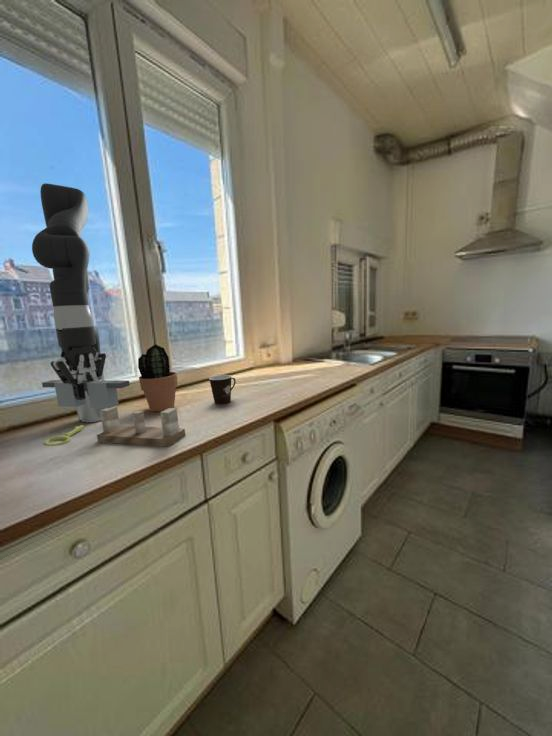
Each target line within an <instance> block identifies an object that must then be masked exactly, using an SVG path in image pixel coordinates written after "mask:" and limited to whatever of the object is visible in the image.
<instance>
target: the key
mask: <svg viewBox="0 0 552 736" xmlns="http://www.w3.org/2000/svg"><path fill="white" fill-rule="evenodd" d="M84 428H85V425H83V424H81V425H79V426H78V425H76V426H75V427H74V429H73V430H71V431H69V432H64V434H63V435H59V436H58V435H56V436H53V437H50V438H48V439H46V440H45V442H44V445H46V446H60V445H64V444H68V443H70V442H71V440H72V439H71V437H72V436H73V435H75V434H77V433H78V432H80V431H81V430H83V429H84ZM53 440H54V441H59V442H55V443H54V442H53ZM62 440H63V441H62Z"/></svg>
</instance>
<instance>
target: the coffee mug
mask: <svg viewBox="0 0 552 736" xmlns="http://www.w3.org/2000/svg"><path fill="white" fill-rule="evenodd" d="M232 380H233V385H232ZM236 382H237V381H236V378H234V377H232V375H227V374H226V375H225V374H223V375H222V374H221V375H215V376H212V377H209V384H210V389H211V393H212V398H213V403H214V404H216V405H226V404H229V403H231V402H232V401H231V400H232V391H233V389H234V388H235V386H236Z"/></svg>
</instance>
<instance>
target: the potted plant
mask: <svg viewBox="0 0 552 736" xmlns="http://www.w3.org/2000/svg"><path fill="white" fill-rule="evenodd" d="M137 363H138V364H137V368H138V370H139V373H140V376H139V377H138V379H139V380H138V381H139V386H140V389H141V391H142V392H143V394H144V396H145V399H146V402H147V405H148V408H149V410H150V411H151V412H154V411H160V412H163V411H164V410H166V409H168V408H174V407H175V402H176V401H175V400H176V391H177V386H178V385H179V384H178V373H177V372H174V371H171V369H170V368H171V366H170V357H169V355H168V354H167V352H166V349H165V348H164V347H162V346H161V345H158V344H153V345H152V346H151V347H149V348H147V349H146V353H142V355H140V357H139V358H138V360H137Z"/></svg>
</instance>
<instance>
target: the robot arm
mask: <svg viewBox="0 0 552 736" xmlns="http://www.w3.org/2000/svg"><path fill="white" fill-rule="evenodd" d="M39 192H40V200H41V207H42V213H43V217H44V221H45V226H46V227H45V228H44V229H43V230H40V231H39V232H38V233H37V234H36V235H35V237H34V238H33V240H32V245H31V252H32V255H33V258H34V259H35V261H36V262H37V263H38V264H39V265H40V266H42V267H44V268H47V269H51V270H52V275H53V280H52V281H50V282H49V291H50V298H51V304H52V308H53V309H52V310H53V311H52V313H53V314H52V315H53V323H54V326H55V328H54V329H55V333H56V339H57V344H58V347H59V348H60V349H61V353H60V357H59V358H58V359H57V360H54V361H53V360H52V361H50V367H52V369H53V371H54V372H55V373H56V375H57V377H58V378H59V380H61V381H62V382H63V383H65V384H71V385H72V387H73V392H74V397H75V398H76V399H77V400H83V399H85V400H86V404H84V405H81V406H78V407H76V412H77V419H78V421H79V420H81V421H82V422H81V421H80V422H81V423H84V422H86V423H88V422H89V423H97V422H100V421H102V420H101V414H100V410H103V409H105V408H91V406H90V400H89V394H88V391H84V387H83V384H82V380H105V374H104V367H105V364H106V360H107V359H106V357H107V355H106V353H101V345H100V336H99V332H98V329H97V328H96V326H94V323H93V316H92V312H91V309H90V305H89V300H88V293H89V291H90V283H89V273H88V267H89V262H90V249H89V246H88V244H87V243H86V241H85V240H84V239H83V238H82V231H83V229H84V227H86V223H87V222H88V217H89V205H88V200H87V197H86V194H85V193H84V192H83V190H81V189H79V188H74V187H69V186H66V185H65V186H64V185H60V184H59V185H58V184H55V183H54V184H53V183H47V182H46V183H43V184H42V185H41V186H40V191H39Z"/></svg>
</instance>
